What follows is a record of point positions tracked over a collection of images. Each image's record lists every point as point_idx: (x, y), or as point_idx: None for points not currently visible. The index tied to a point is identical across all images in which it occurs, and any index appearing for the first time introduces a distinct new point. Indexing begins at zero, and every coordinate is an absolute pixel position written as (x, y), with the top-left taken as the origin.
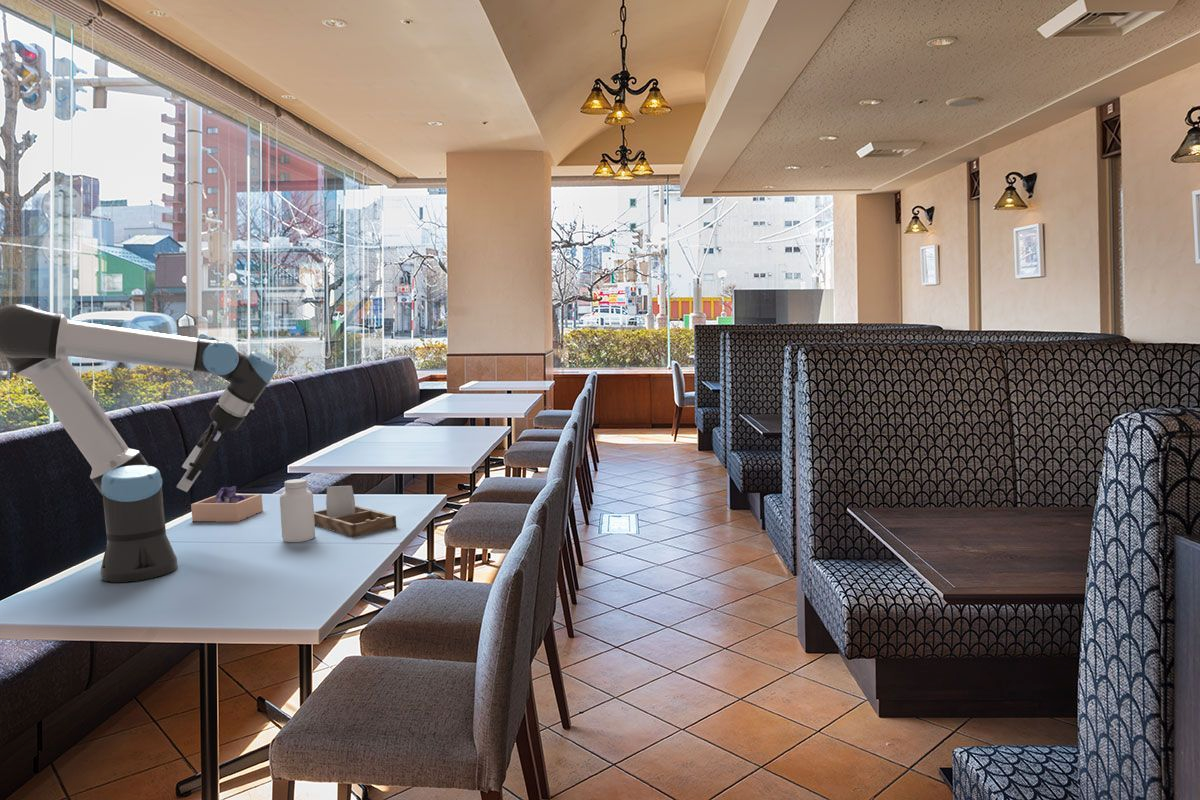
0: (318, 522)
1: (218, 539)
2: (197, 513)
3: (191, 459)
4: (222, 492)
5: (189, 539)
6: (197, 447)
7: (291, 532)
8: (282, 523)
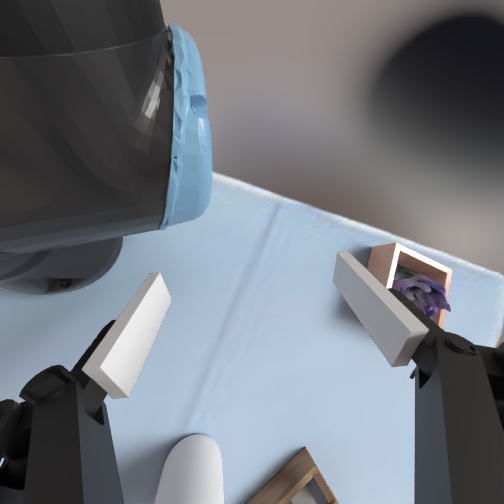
0: (281, 478)
1: (247, 312)
2: (380, 253)
3: (357, 289)
4: (425, 291)
5: (265, 266)
6: (406, 337)
7: (160, 479)
8: (172, 474)
